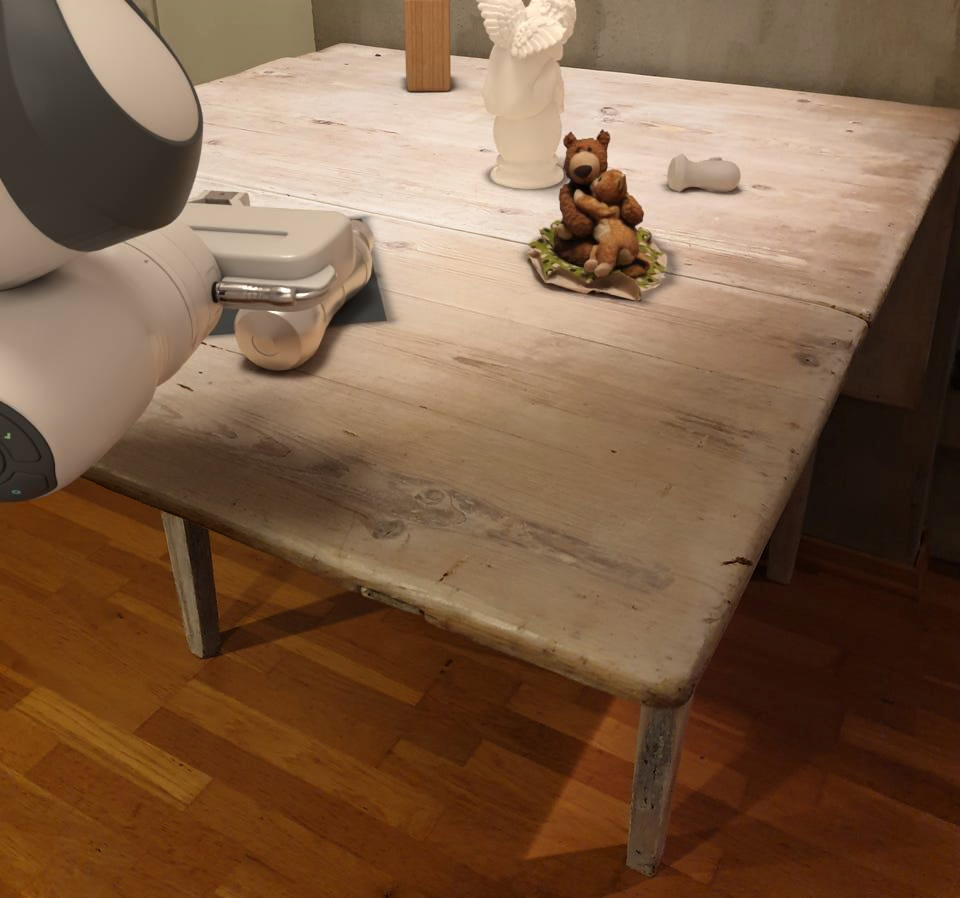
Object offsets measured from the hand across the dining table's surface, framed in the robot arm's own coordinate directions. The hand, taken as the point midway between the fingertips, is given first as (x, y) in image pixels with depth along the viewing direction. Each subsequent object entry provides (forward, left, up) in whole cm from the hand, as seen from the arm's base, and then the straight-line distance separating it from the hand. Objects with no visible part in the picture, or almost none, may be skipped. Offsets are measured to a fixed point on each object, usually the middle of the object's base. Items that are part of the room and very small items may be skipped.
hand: (229, 202), depth 64 cm
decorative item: (+26, +88, -15) cm, 93 cm away
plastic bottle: (+1, +2, -12) cm, 12 cm away
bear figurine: (+32, +18, -15) cm, 40 cm away
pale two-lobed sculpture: (+50, +37, -15) cm, 64 cm away
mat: (+2, +22, -15) cm, 27 cm away
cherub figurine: (+31, +42, -15) cm, 54 cm away
